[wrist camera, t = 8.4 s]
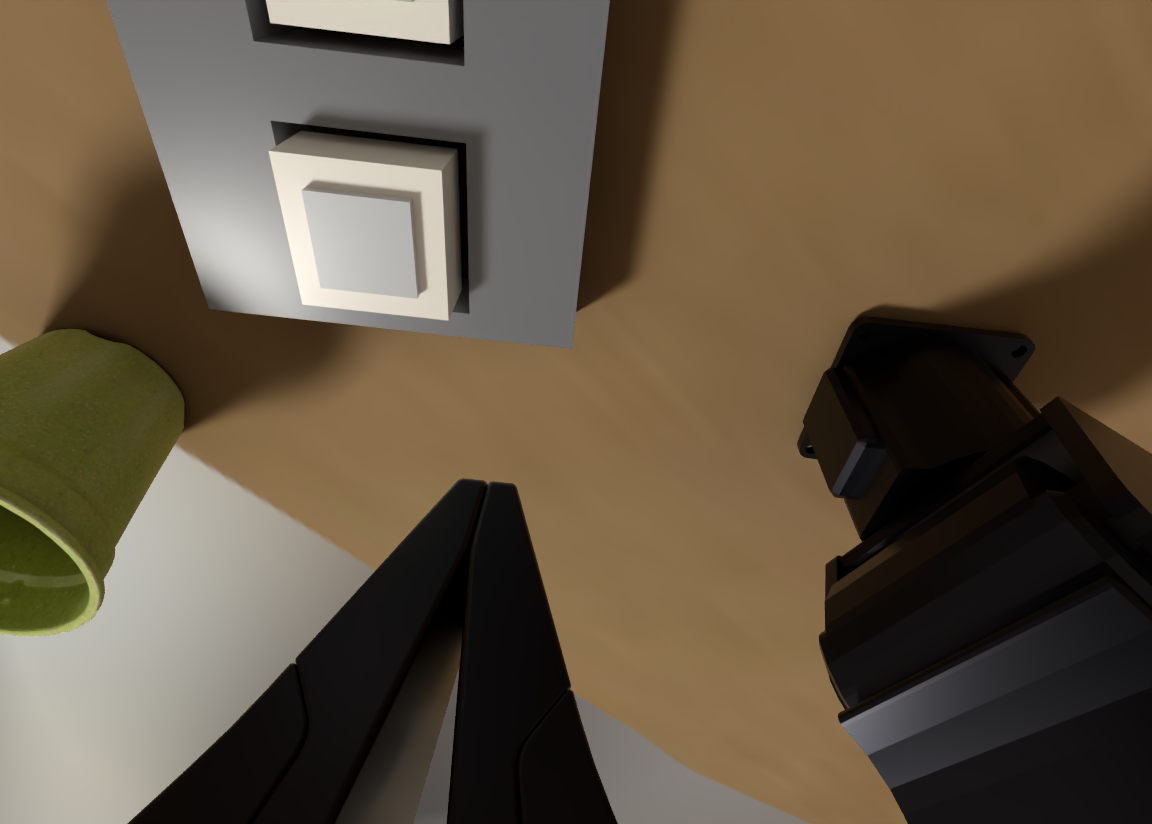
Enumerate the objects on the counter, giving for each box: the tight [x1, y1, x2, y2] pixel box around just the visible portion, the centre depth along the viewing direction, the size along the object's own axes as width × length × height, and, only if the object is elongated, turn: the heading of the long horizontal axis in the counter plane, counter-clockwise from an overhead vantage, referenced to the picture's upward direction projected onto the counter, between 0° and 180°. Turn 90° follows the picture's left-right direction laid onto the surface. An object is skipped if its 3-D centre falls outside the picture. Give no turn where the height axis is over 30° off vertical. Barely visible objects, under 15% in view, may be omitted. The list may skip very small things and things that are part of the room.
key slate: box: [269, 131, 462, 321], centre depth 17 cm, size 4×4×2 cm
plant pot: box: [0, 329, 185, 636], centre depth 22 cm, size 9×9×9 cm
